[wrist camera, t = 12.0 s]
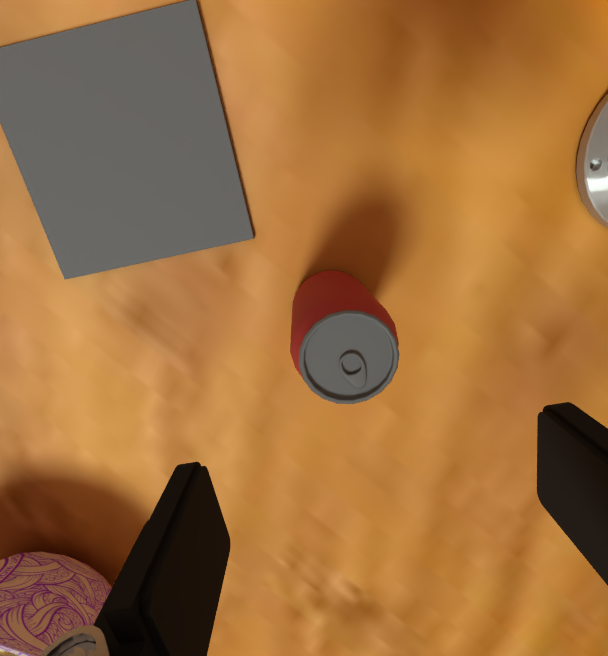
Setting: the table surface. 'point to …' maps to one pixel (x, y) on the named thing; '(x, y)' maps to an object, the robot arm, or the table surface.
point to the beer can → (342, 339)
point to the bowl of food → (45, 600)
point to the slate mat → (123, 140)
